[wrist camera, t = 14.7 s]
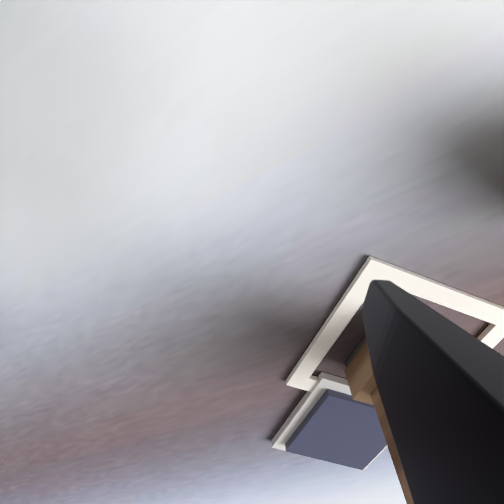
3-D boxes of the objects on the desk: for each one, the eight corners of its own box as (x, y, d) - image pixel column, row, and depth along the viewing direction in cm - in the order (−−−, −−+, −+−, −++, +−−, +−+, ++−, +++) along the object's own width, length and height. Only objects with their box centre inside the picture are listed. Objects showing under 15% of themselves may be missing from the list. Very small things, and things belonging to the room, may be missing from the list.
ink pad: (271, 440, 32) (272, 454, 31) (321, 371, 28) (324, 385, 27) (362, 463, 33) (365, 477, 32) (421, 401, 29) (427, 415, 28)
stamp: (342, 363, 27) (420, 633, 15) (381, 309, 25) (511, 579, 13) (405, 382, 28) (523, 647, 16) (448, 331, 26) (625, 600, 14)
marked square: (285, 380, 28) (286, 384, 28) (369, 255, 23) (371, 259, 22) (416, 418, 30) (418, 422, 30) (519, 313, 25) (523, 317, 25)
